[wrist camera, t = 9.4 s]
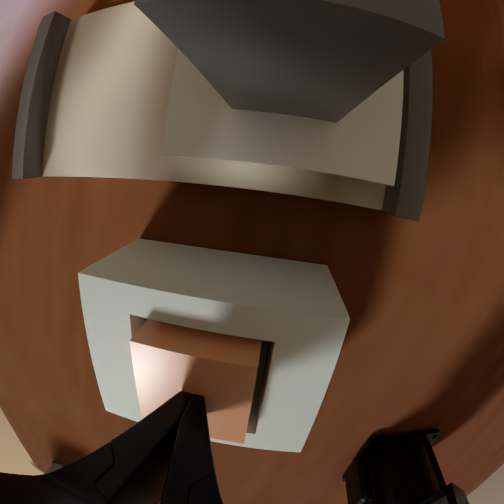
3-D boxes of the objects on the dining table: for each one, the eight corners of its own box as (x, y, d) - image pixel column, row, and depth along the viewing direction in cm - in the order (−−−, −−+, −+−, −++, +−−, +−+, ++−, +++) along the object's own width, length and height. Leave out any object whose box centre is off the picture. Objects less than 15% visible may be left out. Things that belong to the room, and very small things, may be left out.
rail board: (403, 34, 9) (427, 9, 6) (390, 209, 12) (419, 221, 9) (73, 31, 10) (42, 16, 8) (48, 174, 13) (11, 179, 10)
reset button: (265, 306, 12) (257, 367, 8) (253, 378, 13) (243, 443, 9) (171, 290, 12) (129, 340, 8) (172, 363, 13) (142, 420, 9)
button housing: (327, 265, 13) (350, 318, 8) (298, 382, 15) (300, 452, 10) (139, 238, 13) (78, 272, 9) (144, 354, 15) (105, 410, 11)
